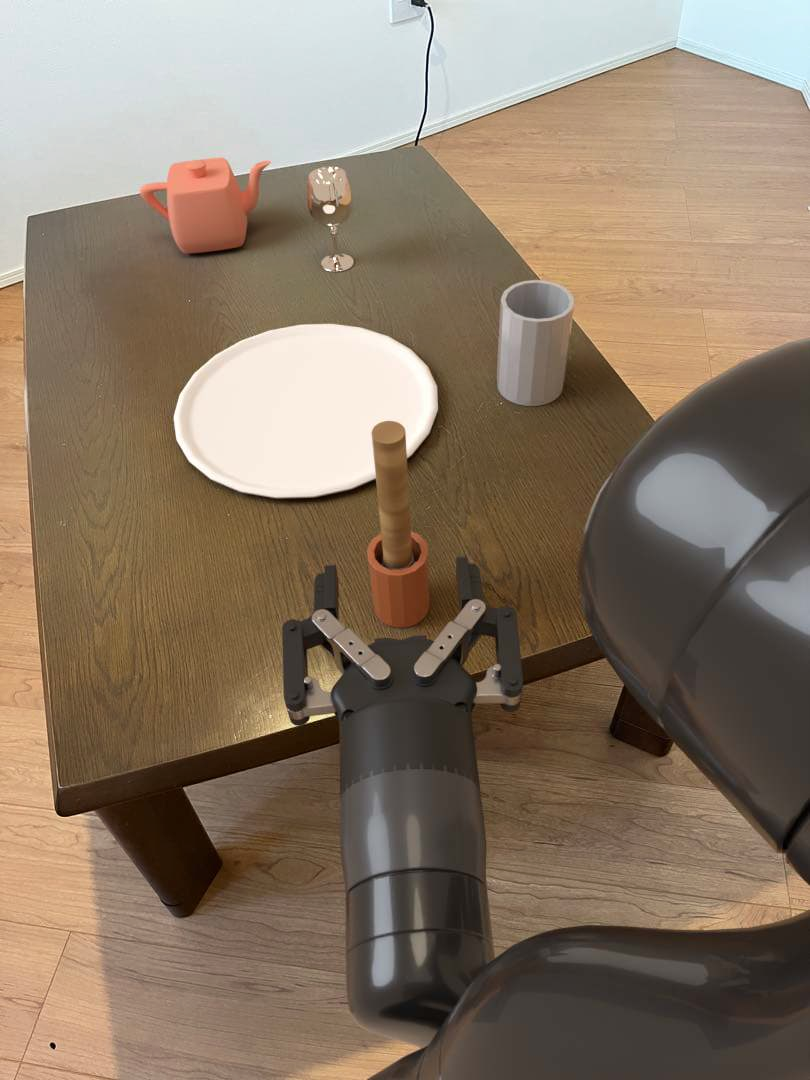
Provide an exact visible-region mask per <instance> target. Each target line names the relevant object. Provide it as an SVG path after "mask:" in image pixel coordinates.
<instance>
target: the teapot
mask: <svg viewBox="0 0 810 1080" xmlns="http://www.w3.org/2000/svg"><path fill="white" fill-rule="evenodd" d="M271 163H272V160H262V161H260V162H257V163H256V164H254V165H253V166H252V167H251V169H250V171H249V179H248V185H247V187H246V188H245V189H244V191H242V192H241V189H240V186H239V184H238V181H237V178H236V176H235V174H234V171H233V170H232V167H231V165H230V163H229V161H228V159H226V158H225V157H212V158H204V159H203V158H202V159H194V160H187V161H180V162H174V163H172V164H171V165H170V167H169V169H168V172H167V179H166V181H160V182H150V183H146V184H143V185H142V186H141V187H140V188H139V195H140V197H141V198H142V200H143V201H144V202H145V203H146V205H147V206H149V207H150V208H151V209H153V210H154V211H155V212H156V213H158V214H159V215H161V216H162V217H164V218H165V219H167V220H168V221H169V226H170V230H171V235H172V238H173V239H174V242H175V245H176V246H177V247H178V249H179V251H181V252H182V253H183V254H201V253H207V252H209V253H210V252H216V251H224V250H229V249H234V248H239V247H241V246H243V245H244V242H245V240H246V235H247V230H248V229H247V228H248V215H249V214H251V213H252V212H253V210H254V209H255V208H256V206H257V204H258V201H259V195H260V194H259V193H260V180H261V179H260V178H261V175H262V172H263V171H264V170H265V168H266V167H267V166H269V165H270V164H271ZM160 191H166V203H167V204H166V205H167V207H165V206H164V205H163V204H162V203H161V202H160V201H159V200H158V199H157V197H156V196H155V195H154V193H156V192H160Z"/></svg>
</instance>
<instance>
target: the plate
mask: <svg viewBox="0 0 810 1080" xmlns="http://www.w3.org/2000/svg"><path fill="white" fill-rule="evenodd" d="M431 372H432V371H431V370H430V368H429V366H428V365H427V364H426V363H425V362H424V361H423V360H422V359H421V358H420V357H419V356H418V354H416V353H415V352H414V351H413V350H412V349H411V348H409V347H408V346H406V345H404V344H403V343H401V342H399V341H397V340H396V339H395V338H392V337H391V336H389V335H386V334H382V333H380V332H376V331H374V330H370V329H368V328H367V329H366V328H364V327H360V326H352V325H344V324H338V323H311V324H310V323H309V324H296V325H292V326H285V327H281V328H275V329H269V330H267V331H264V332H261V333H259V334H255V335H253V336H250V337H247V338H245V339H241V340H240V341H238V342H236V343H234V344H232V345H231V346H229V347H227V348H226V349H224V350H222V351H220V352H218V353H216V354H215V355H213V357H211V358H210V359H209V360H207V361H206V363H204V364H203V365H202V366H201V367H200V368H199V369H197V370H196V371H195V372H194V373H193V374H192V376H191V378H190V379H189V380H188V382H187V383H186V384H185V386H184V388H183V389H182V391H181V392H180V393H179V396H178V399H177V402H176V406H175V411H174V413H173V422H174V423H173V425H174V431H175V432H174V433H175V439H176V442H177V443H178V446H179V447H180V449H181V451H182V452H183V454H184V456H185V457H186V459H187V461H188V462H189V463H190V464H191V465H192V466H194V467H195V468H196V469H197V470H198V471H200V473H202V474H203V475H204V476H206V477H207V478H208V479H209V480H211V481H213V482H216V483H217V484H219V485H222V486H225V487H227V488H229V489H231V490H234V491H236V492H238V493H243V494H247V495H254V496H258V497H259V496H260V497H266V498H271V499H306V498H309V499H311V498H312V499H313V498H318V497H323V496H329V495H332V494H337V493H341V492H347V491H349V490H350V491H351V490H354V489H356V488H359V487H361V486H363V485H365V484H367V483H369V482H372V481H375V480H376V475H375V464H374V454H373V444H372V430H373V428H374V427H375V426H376V425H377V424H379V423H381V422H384V421H395V422H398V423H400V424H401V425H402V426H403V427H404V428H405V433H406V451H407V460H408V459H409V458H410V457H412V456H413V455H414V454H415V452H416V451H417V450H418V448H419V447H420V446H421V445H422V443H423V442H424V441H425V440H426V438H427V437H428V436H429V435H430V433H431V431H432V427H433V425H434V422H435V420H436V417H437V414H438V411H439V402H438V386H437V383H436V381H435V379H434V377H433V375H432V373H431Z"/></svg>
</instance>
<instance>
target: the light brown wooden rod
mask: <svg viewBox="0 0 810 1080" xmlns="http://www.w3.org/2000/svg"><path fill="white" fill-rule="evenodd" d="M372 444H373V454H374V464H375V475H376V479H375V483H376V484H375V485H376V495H377V504H378V514H379V515H378V517H379V525H380V533H381V537H382V547H383V558H382V559H383V562H382V564H381V566H383V567H385V568H388V569H390V570H402V569H405V568H408V567H411V566H412V565H413V564H414V563H416V562H415V560H414V557H413V553H412V542H411V531H412V530H411V529H412V526H411V525H412V524H411V508H410V507H411V506H410V489H409V473H408V472H409V470H408V459H407V451H406V433H405V428H404V427H403V426H402V425H401V424H400V423H398V422H395V421H384V422H381V423H379V424H377V425H376V426H375V427H374V428H373V430H372Z"/></svg>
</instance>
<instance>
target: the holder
mask: <svg viewBox="0 0 810 1080" xmlns="http://www.w3.org/2000/svg"><path fill="white" fill-rule="evenodd" d="M411 542H412V553H413V557H414V560H415V562H416V563H414V564H413V565H412V566H411V567H408V568H405V569H402V570H390V569H388V568H385V567H383V566H381V564H382V562H383V559H382V558H383V547H382V537H381V532H380V533H379V534H377V535H376V536H375V537H374V538H372V539H371V540H370V542H369V545H368V547H367V549H366V556H367V557H366V558H367V565H368V573H369V580H370V590H371V598H372V605H373V611H374V614H375V615H376V617H377V619H378V620H379V621H380V622H381V623H383V624H384V625H386V626H389V627H391V628H398V629H404V628H405V629H406V628H410V627H413V626H416V625H417V624H419V623H420V622H422V620H424V618H425V617H426V616H427V615H428V613H429V610H430V603H431V593H430V591H431V590H430V588H431V587H430V561H429V548H428V544H427V542H426V540H425V539H424V538H423V537H422V536H421V535H420V534H419V533H417V532H415V531H412V530H411Z"/></svg>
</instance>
